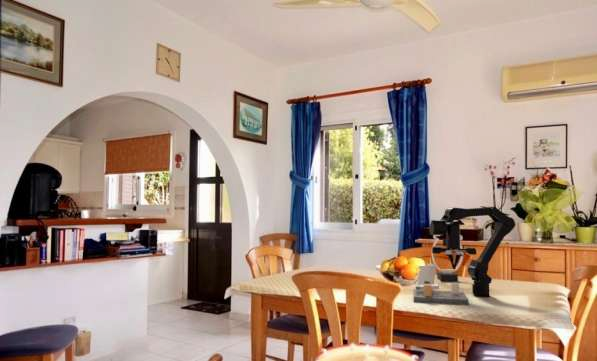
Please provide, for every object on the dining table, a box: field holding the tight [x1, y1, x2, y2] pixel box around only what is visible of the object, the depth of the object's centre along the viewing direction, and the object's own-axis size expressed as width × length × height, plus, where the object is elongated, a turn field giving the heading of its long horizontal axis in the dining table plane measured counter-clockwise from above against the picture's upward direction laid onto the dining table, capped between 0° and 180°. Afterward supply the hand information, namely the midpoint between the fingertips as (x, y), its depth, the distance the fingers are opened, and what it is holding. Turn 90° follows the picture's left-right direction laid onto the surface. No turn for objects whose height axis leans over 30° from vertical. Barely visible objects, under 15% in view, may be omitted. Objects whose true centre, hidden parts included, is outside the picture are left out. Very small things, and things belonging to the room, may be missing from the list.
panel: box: [412, 281, 469, 306], centre depth 190 cm, size 22×16×6 cm
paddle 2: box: [450, 281, 460, 294], centre depth 193 cm, size 3×3×5 cm
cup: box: [417, 263, 437, 290], centre depth 210 cm, size 9×9×12 cm
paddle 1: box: [424, 284, 432, 297], centre depth 188 cm, size 3×3×5 cm
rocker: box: [415, 283, 440, 290], centre depth 196 cm, size 10×4×1 cm, turn 75°
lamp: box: [430, 223, 464, 283], centre depth 236 cm, size 17×9×32 cm, turn 85°
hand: (453, 269), depth 197 cm, fingers closed
